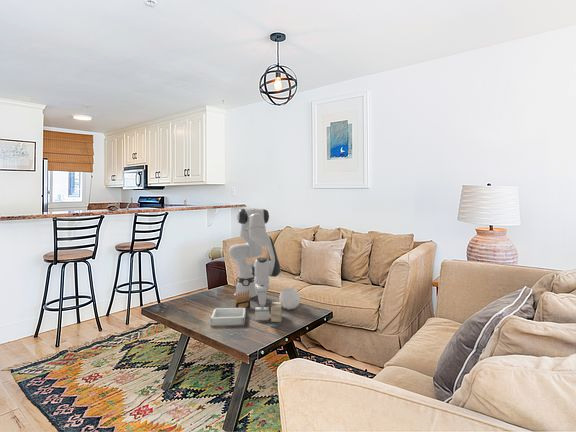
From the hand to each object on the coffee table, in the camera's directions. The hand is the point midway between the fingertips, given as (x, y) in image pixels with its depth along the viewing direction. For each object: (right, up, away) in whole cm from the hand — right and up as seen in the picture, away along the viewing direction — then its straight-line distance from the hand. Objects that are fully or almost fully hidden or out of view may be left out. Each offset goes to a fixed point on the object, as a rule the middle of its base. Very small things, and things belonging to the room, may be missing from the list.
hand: (262, 307), depth 211 cm
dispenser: (+8, -7, +1) cm, 11 cm away
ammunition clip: (-15, -6, +20) cm, 26 cm away
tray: (-20, -7, 0) cm, 22 cm away
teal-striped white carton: (0, -7, +1) cm, 7 cm away
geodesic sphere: (+16, -6, +20) cm, 27 cm away
